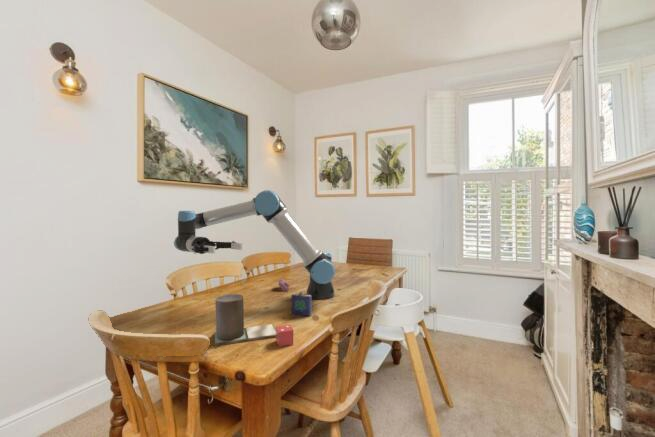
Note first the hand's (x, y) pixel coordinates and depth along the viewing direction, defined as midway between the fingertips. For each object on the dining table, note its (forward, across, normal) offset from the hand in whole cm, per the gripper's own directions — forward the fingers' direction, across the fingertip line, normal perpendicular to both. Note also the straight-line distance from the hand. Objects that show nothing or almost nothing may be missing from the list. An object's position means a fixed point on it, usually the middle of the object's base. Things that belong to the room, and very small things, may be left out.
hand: (228, 248), depth 127 cm
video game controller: (-14, -49, -30) cm, 60 cm away
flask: (+22, -22, -30) cm, 43 cm away
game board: (+19, +7, -30) cm, 36 cm away
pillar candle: (+16, +12, -29) cm, 35 cm away
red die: (+35, +3, -30) cm, 46 cm away
